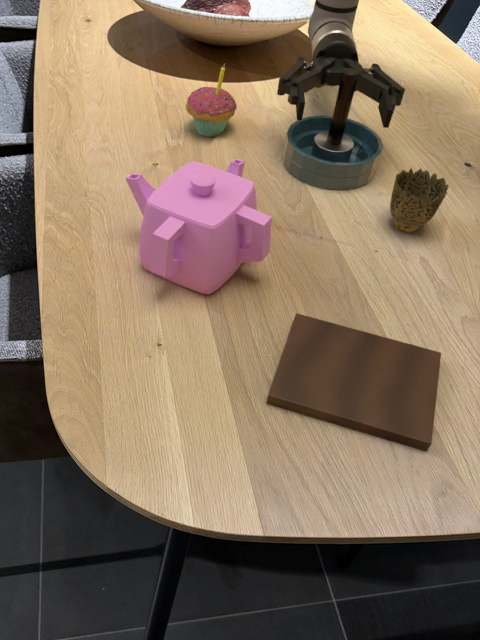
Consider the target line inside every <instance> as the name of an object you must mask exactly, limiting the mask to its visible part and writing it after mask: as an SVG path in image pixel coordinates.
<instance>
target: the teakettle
mask: <svg viewBox="0 0 480 640" xmlns="http://www.w3.org/2000/svg"><path fill="white" fill-rule="evenodd" d="M245 163H246V162H245V161H244V160H241V159H238V158H234V159H233V160H231V161H230V162H229V165H228V167H227V168H226V170H223V169H220V168H217V167H215V166H212V165H208V164H205V163H202V162H199V161H194V160H192V161H189V162H187V163H185V164H184V165H182V166H181V167H179V168H178V169H177V170H175V171H174V172H173V173H171V174H170V175H169V176H168V177H166V179H164V180H163V182H162V183H160V185H158V186H157V188H156V189H155V188H154V187H153V186H152V185H151V184H150V182H148V181H147V180H146V178H145V177H144V176H143V174H141V173H134V172H131V173H130V174H128V176H126V177H125V181H126V184H127V185H128V187H129V189H130V191H131V193H132V195H133V197H134V200H135V202H136V204H137V206H138V208H139V210H140V212H141V214H142V221H141V226H140V233H139V243H138V255H139V260H140V262H141V265H142V267H143V269H145V270H146V271H147V272H149V273H151V274H153V275H155V276H158V277H160V278H162V279H163V280H167V281H169V282H172V283H174V284H176V285H179V286H181V287H183V288H186V289H188V290H191V291H193V292H197V293H200V294H203V295H207V296H208V295H211V294H213V293H214V292H216V291H218V290H219V289H220V288H221V287H222V286H224V284H226V282H228V281H229V279H230V278H231V277H232V276H233V275H234V274H235V273H236V272H237V271H238V270H239V268H240V267H241V265H242V264H245V263H254V262H263V261H264V260H265V258H267V256H268V255H269V254H270V252H271V239H272V238H271V237H272V223H273V217H272V216H271V215H268V214H266V213H264V212H261V211H259V210H258V206H257V205H258V204H257V195H256V185H255V183H254V181H252V180H249V179H247V178H244V177H243V174H244V168H245Z"/></svg>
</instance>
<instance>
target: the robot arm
mask: <svg viewBox="0 0 480 640" xmlns="http://www.w3.org/2000/svg"><path fill="white" fill-rule="evenodd" d="M359 2H360V0H315V1H314V6H313V11H312V12H311V15H310V17H309V21H308V27H307V34H308V39H309V44H310V51H311V59H312V61H311V62H312V63H311V62H308V61H307V60H305V57H303V56H298V57H297V58H296V62H295V63H294V64H292V66H291V67H290V68H289V69H288V70H286V71H285V72H284V73H283V74H281V76H280V77H279V78H278V85H277V91H276V94H277V95H278V96H285V95H288V97H287V103H288V104H290V105H291V106H295V112H296V121H297V120H302V119H303V118H304V111H305V106H306V98H305V97H306V96H305V94H306V93H308V92H310V91H311V90H314V89H318V90H319V89H321V88H322V87H325V86H327V87H339V85H340V81H341V76H342V72H343V70H344V69H345V68H352V69H356V70H357V71H358V72H359V75H358V79H357V83H356V87H355V91H354V93H355V92H359V93H361V94H362V95H364V96H366V97H367V98H369V99H371V100H373V101H374V102H376V103H378V106H377V108H378V112H379V116H380V120H381V123H382V127H383V128H384V129H389V127H390V125H391V121H392V118H393V114H394V113H395V110H396V107H399V106H401V104H402V101H403V98H404V95H405V91H406V89H405V87H404V86H402V85H401V84H400V83H398V82H397V80H394V79H393V78H392V77H391V76H390V75H388V74H387V73H386V72H384V70H382V69H381V65H380V64H378V63H372V64H371V66H370V67H369V68H368V67H363V65H362V64H361V63H360V62H359V60H360V59H359V55H358V50H357V46H356V41H355V38H354V34H353V28H354V23H355V18H356V16H357V15H356V14H357V10H358V7H359Z"/></svg>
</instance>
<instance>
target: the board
mask: <svg viewBox="0 0 480 640" xmlns="http://www.w3.org/2000/svg"><path fill="white" fill-rule="evenodd" d="M441 358H442V352H440V351H436V350H433V349H429V348H426V347H421V346H418V345H415V344H411V343H407V342H405V341H399V340H397V339H394V338H393V339H391V338H389V337H385V336H382V335H379V334H375V333H370V332H367V331H363V330H360V329H356V328H352V327H349V326H345V325H341V324H337V323H334V322H330V321H326V320H323V319H319V318H315V317H312V316H308V315H305V314H302V313H297V312H296V313H295V316H294V318H293V322H292V325H291V327H290V329H289V333H288V336H287V339H286V341H285V345H284V348H283V351H282V354H281V357H280V359H279V362H278V365H277V368H276V371H275V374H274V377H273V379H272V383H271V385H270V387H269V391H268V394H267V399H266V404H268V405H272V406H274V407H275V406H276V407H279V408H282V409H285V410H288V411H292V412H295V413H298V414H301V415H304V416H308V417H311V418H315V419H318V420H322V421H325V422H329V423H332V424H334V425H338V426H341V427H345V428H347V429H350V430H351V429H352V430H354V431H357V432H361V433H365V434H368V435H371V436H374V437H377V438H381V439H385V440H387V441H391V442H395V443H397V444H398V443H399V444H402V445H405V446H408V447H411V448H415V449H417V450H421V451H424V452H428V451H429V448H430V447H431V446H432V443H433V433H434V425H435V424H434V422H435V416H436V415H435V414H436V404H437V395H438V387H439V377H440V368H441Z"/></svg>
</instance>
